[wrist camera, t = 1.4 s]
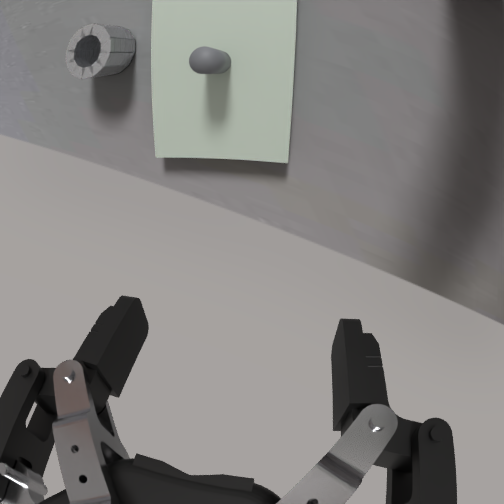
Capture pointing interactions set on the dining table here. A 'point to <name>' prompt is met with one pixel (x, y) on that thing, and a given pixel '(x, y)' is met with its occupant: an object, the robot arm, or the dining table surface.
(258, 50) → the post base
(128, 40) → the cylinder
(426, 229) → the dining table surface
